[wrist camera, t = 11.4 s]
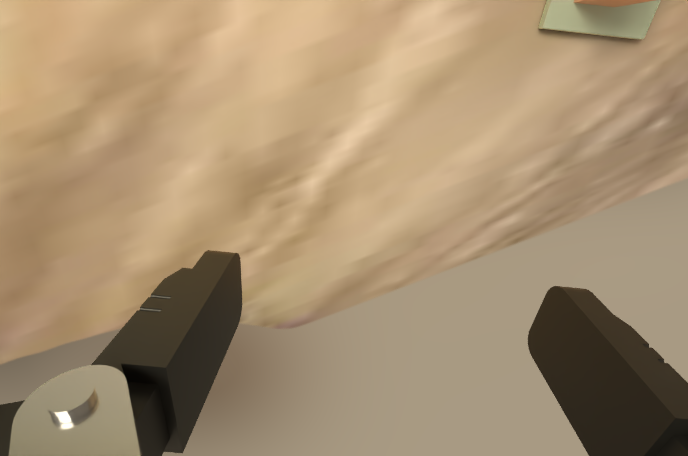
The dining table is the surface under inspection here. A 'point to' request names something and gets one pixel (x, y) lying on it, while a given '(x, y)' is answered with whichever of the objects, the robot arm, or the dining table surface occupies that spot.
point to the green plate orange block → (600, 17)
